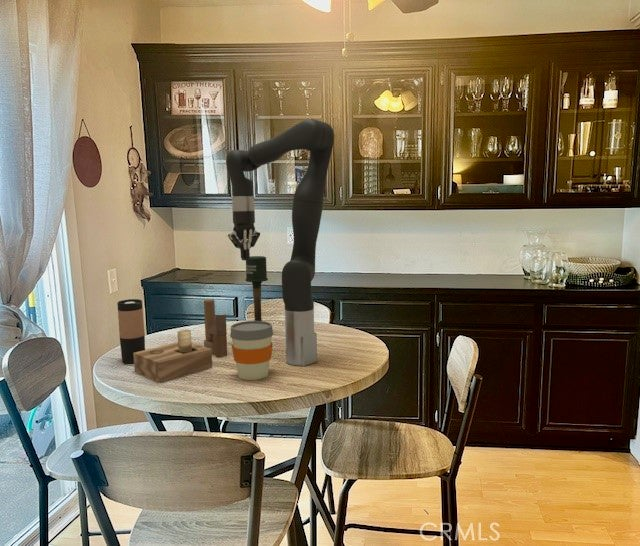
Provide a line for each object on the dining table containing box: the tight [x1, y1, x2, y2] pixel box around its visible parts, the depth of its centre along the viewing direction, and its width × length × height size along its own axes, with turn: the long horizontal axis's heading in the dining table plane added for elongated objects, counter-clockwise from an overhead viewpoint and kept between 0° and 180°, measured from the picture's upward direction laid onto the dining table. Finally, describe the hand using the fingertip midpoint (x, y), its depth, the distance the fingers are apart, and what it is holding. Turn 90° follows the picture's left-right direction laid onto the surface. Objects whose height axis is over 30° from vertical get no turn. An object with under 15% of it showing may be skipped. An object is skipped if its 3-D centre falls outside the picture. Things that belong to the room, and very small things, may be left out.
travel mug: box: [116, 298, 146, 365], centre depth 166 cm, size 8×8×20 cm
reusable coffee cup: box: [229, 320, 274, 381], centre depth 152 cm, size 12×13×15 cm
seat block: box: [133, 341, 213, 384], centre depth 158 cm, size 15×18×6 cm
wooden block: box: [203, 298, 228, 358], centre depth 174 cm, size 4×11×18 cm, turn 38°
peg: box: [177, 329, 192, 354], centre depth 158 cm, size 4×4×12 cm
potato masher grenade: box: [245, 255, 269, 321], centre depth 198 cm, size 8×9×30 cm
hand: (245, 260), depth 178 cm, fingers closed
